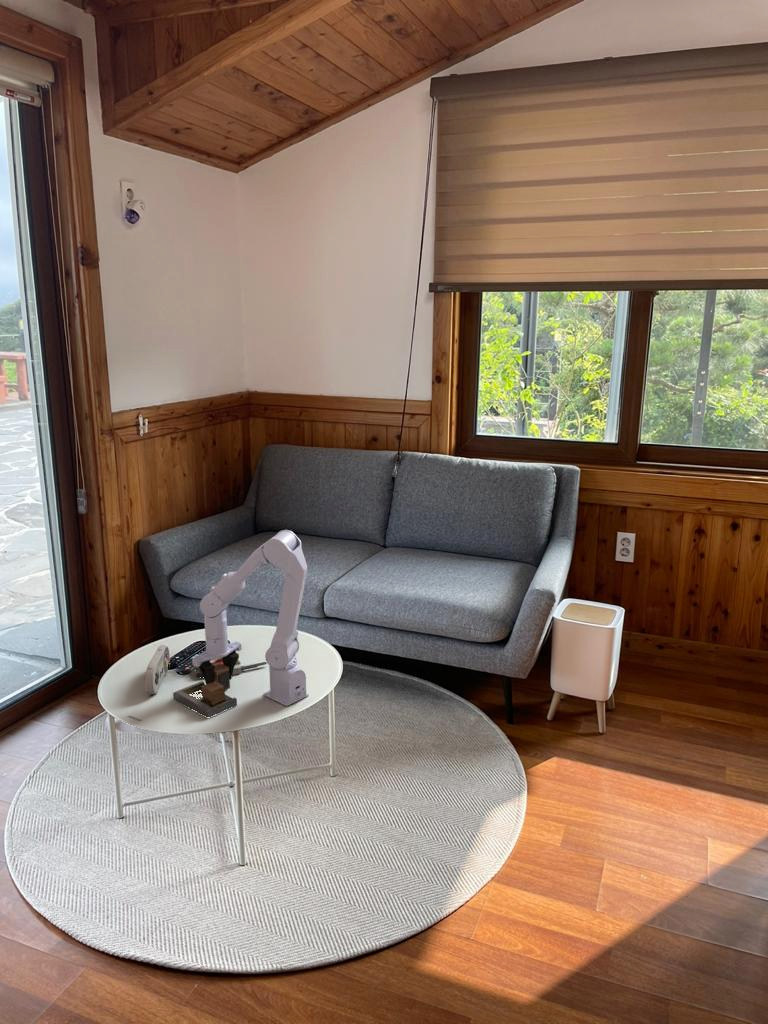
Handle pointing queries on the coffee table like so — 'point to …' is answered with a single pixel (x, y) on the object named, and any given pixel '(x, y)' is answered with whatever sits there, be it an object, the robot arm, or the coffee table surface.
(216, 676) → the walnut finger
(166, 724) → the coffee table surface
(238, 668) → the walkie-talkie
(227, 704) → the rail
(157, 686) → the game controller
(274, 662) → the robot arm
